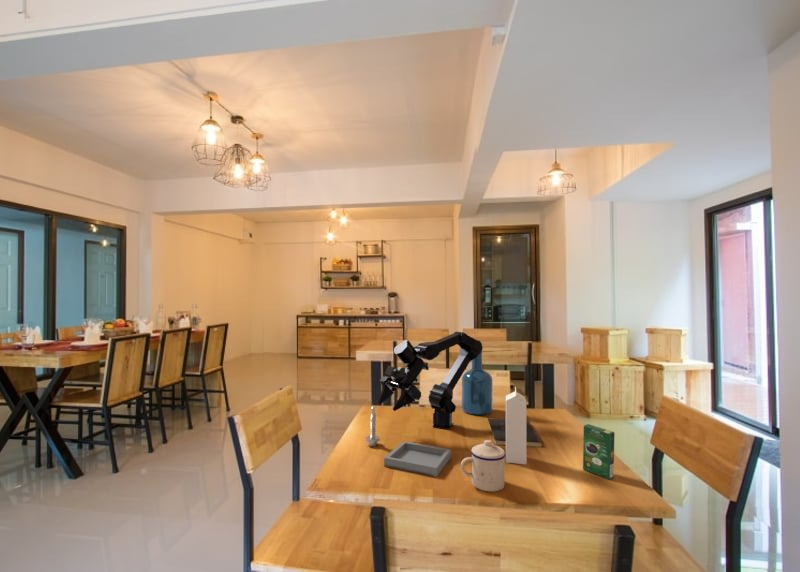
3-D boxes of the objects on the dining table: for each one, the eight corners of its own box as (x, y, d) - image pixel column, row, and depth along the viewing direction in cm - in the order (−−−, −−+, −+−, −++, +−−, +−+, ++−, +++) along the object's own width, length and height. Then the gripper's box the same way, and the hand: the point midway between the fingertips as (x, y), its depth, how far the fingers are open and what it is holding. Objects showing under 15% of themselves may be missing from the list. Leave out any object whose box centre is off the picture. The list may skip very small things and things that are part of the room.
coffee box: (615, 478, 110) (615, 431, 110) (610, 480, 108) (610, 433, 108) (587, 467, 116) (587, 423, 116) (582, 470, 115) (582, 425, 115)
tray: (451, 457, 123) (451, 449, 123) (436, 477, 110) (436, 468, 110) (403, 448, 130) (403, 441, 130) (384, 466, 116) (384, 457, 116)
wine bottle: (461, 406, 178) (461, 340, 179) (490, 407, 177) (490, 341, 178) (462, 415, 165) (462, 344, 165) (494, 417, 163) (494, 345, 164)
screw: (369, 448, 130) (363, 443, 134) (382, 445, 132) (376, 441, 136) (369, 409, 130) (363, 405, 134) (382, 407, 132) (376, 403, 136)
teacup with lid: (498, 475, 111) (498, 434, 111) (510, 492, 102) (510, 447, 102) (457, 477, 110) (457, 435, 110) (465, 494, 101) (465, 448, 101)
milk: (506, 462, 119) (505, 390, 120) (505, 454, 125) (505, 385, 126) (527, 464, 118) (526, 391, 118) (525, 456, 124) (524, 386, 124)
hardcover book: (494, 446, 134) (494, 439, 134) (487, 423, 156) (487, 418, 156) (542, 448, 132) (542, 441, 132) (528, 425, 154) (528, 419, 155)
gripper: (384, 354, 147) (358, 387, 141) (414, 361, 132) (387, 399, 125) (401, 372, 152) (376, 405, 145) (432, 381, 137) (407, 419, 130)
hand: (386, 407), depth 136 cm, fingers open, 9 cm apart
